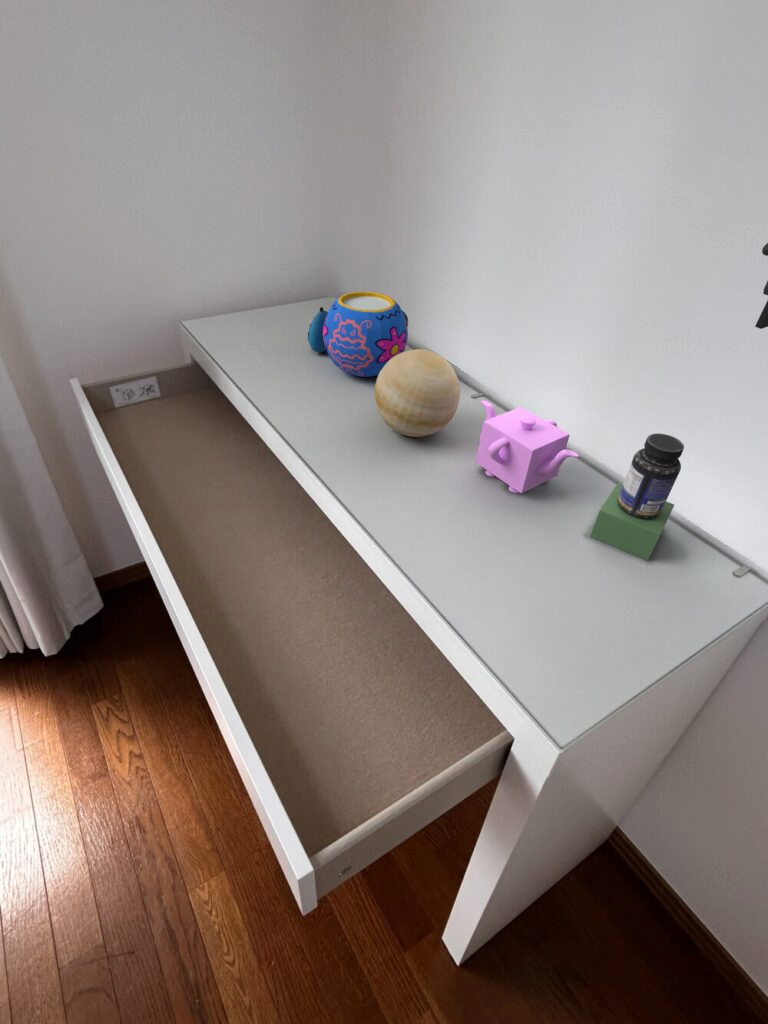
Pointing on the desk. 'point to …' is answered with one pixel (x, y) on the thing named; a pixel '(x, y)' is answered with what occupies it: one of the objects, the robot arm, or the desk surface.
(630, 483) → the pill bottle
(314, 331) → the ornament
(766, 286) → the robot arm
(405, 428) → the decorative ball
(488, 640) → the desk surface
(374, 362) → the ceramic pot
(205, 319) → the desk surface
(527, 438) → the teapot
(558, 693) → the desk surface
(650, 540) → the block
